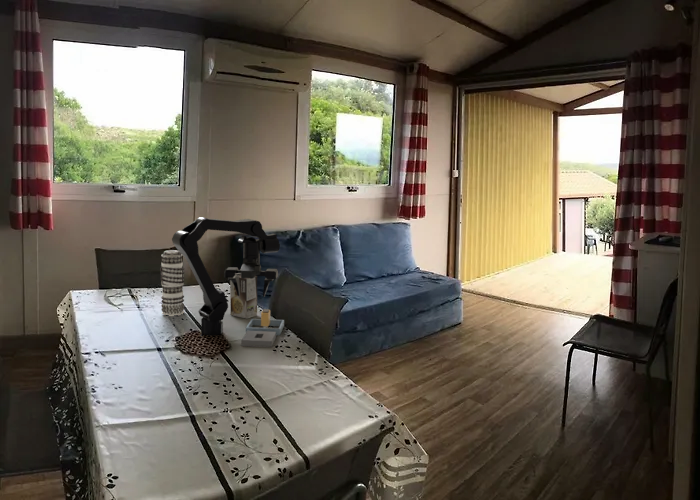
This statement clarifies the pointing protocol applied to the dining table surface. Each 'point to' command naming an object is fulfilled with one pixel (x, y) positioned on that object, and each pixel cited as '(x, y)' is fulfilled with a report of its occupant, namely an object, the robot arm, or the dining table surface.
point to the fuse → (265, 318)
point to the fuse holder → (258, 339)
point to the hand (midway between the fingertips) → (251, 296)
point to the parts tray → (272, 323)
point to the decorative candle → (172, 283)
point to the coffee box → (244, 298)
